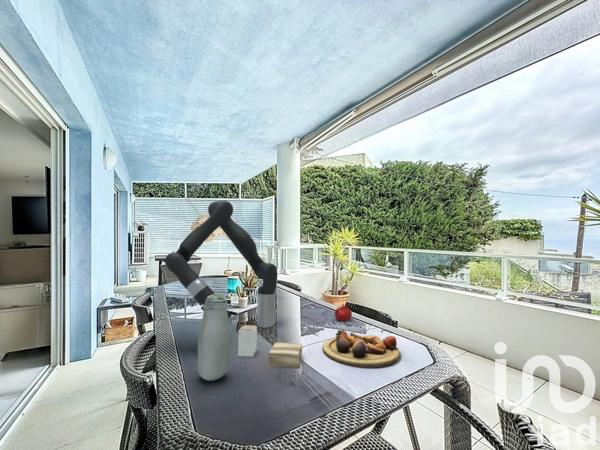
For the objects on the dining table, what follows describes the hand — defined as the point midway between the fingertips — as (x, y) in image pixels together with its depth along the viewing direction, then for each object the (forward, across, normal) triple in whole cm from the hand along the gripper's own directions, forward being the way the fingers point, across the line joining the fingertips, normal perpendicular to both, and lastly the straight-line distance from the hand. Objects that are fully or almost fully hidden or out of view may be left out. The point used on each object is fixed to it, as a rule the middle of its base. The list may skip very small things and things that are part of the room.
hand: (226, 320), depth 120 cm
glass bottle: (+12, -22, +7) cm, 26 cm away
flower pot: (+4, +14, +15) cm, 21 cm away
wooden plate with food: (+49, +9, -30) cm, 58 cm away
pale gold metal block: (+28, -5, -9) cm, 29 cm away
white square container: (+16, 0, +2) cm, 16 cm away
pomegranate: (+46, +55, -27) cm, 76 cm away
